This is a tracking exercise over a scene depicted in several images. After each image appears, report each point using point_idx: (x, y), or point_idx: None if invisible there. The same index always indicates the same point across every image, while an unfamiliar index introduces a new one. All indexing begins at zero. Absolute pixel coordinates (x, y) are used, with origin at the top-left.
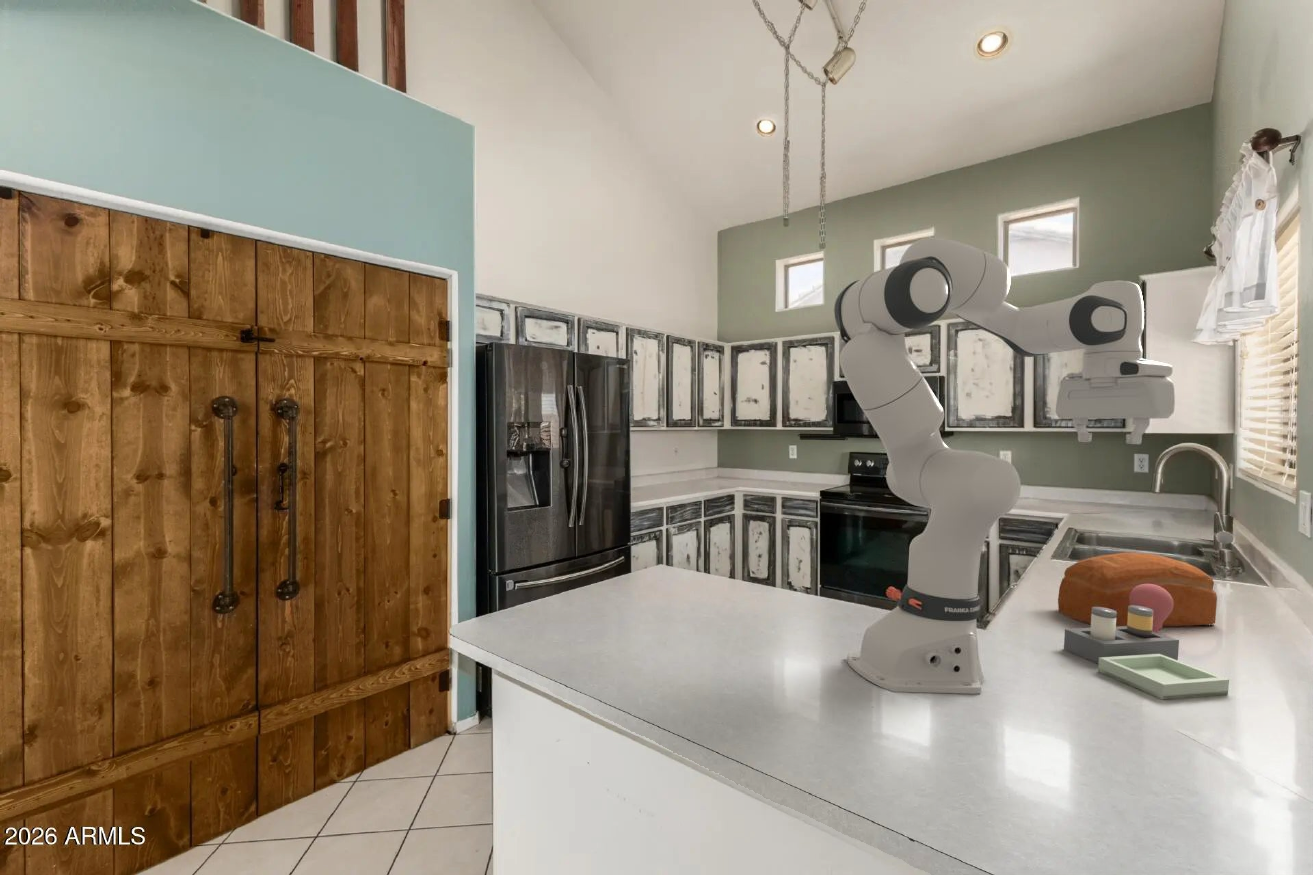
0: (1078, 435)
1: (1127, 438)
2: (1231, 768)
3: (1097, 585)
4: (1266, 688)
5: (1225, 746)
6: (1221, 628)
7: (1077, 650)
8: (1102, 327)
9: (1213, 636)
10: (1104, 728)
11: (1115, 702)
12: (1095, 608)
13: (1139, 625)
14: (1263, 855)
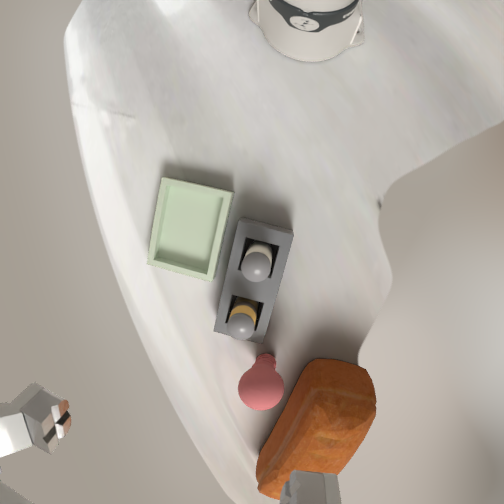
0: (336, 495)
1: (46, 406)
2: (97, 95)
3: (325, 391)
4: (150, 313)
5: (109, 127)
6: (252, 454)
7: (274, 226)
8: None
9: (243, 427)
10: (162, 60)
11: (183, 121)
12: (264, 262)
13: (237, 307)
14: (72, 24)
